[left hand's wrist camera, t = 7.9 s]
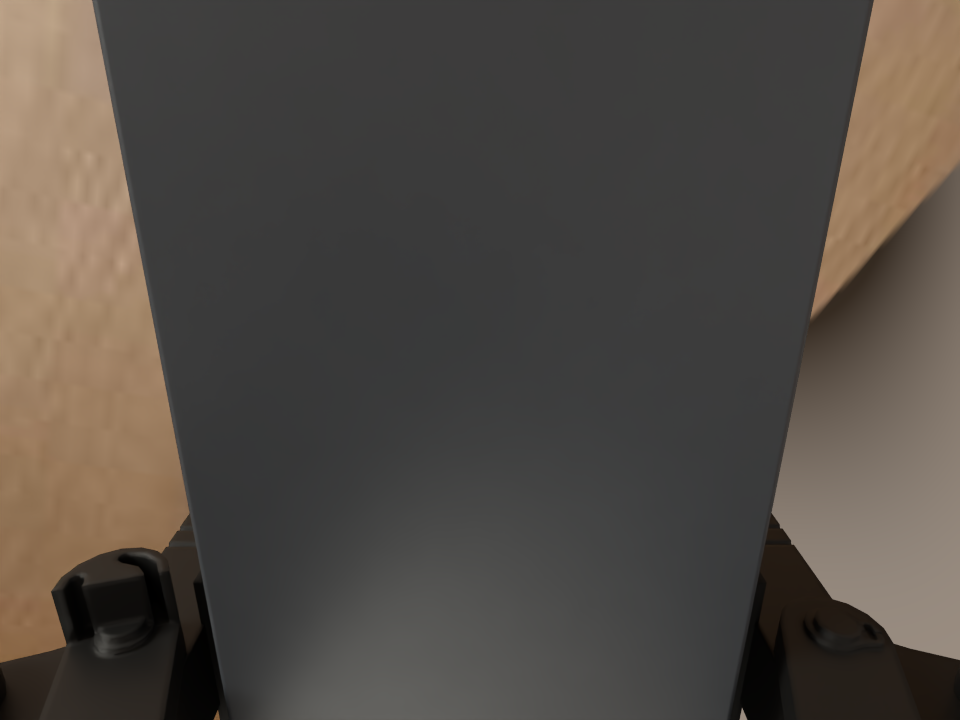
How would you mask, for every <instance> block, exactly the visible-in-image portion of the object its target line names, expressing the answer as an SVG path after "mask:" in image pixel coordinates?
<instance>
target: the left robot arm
mask: <svg viewBox="0 0 960 720" xmlns="http://www.w3.org/2000/svg"><path fill="white" fill-rule="evenodd" d="M51 593H52V596H53V600H54V603H55V606H56V610H57V613H58V616H59V620H60V623H61V626H62V630H63V633H64V636H65V640H66V643H67V645H66V647H63V648H59V649H56V650H53V651H49V652H45V653H41V654H36V655H32V656H28V657H24V658H19V659H15V660H11V661H6V662H2V663H0V720H214V717H215V715H216V713H217V710H218V711H219V716H220V720H229V716H228V711H227V706H226V700H225V695H224V690H223V685H222V679H221V674H220V669H219V664H218V658H217V653H216V648H215V643H214V637H213V632H212V627H211V622H210V616H209V611H208V606H207V601H206V595H205V590H204V585H203V580H202V574H201V569H200V564H199V559H198V553H197V548H196V543H195V538H194V532H193V527H192V522H191V516H190V514H189V515H188V517H187V518H186V520H185V521H184V522H183V524H182V525H181V527H180V531H177V532H176V534H175V535H174V537H173V538H172V539H171V541H170V542H169V547H166V548H165V549H164V551H163V552H162V554H161V553H159V552H158V551H155V550H150V549H146V548H126V549H119V550H115V551H111V552H108V553H104V554H100V555H98V556H96V557H94V558H92V559H89V560H87V561H85V562H83V563H81V564H79V565H77V566H76V567H75V568H73V569H72V570H71V571H70V572H68V573H67V574H66V575H64V576H63V577H62V578H61V579H60V580H59V582H58V583H57V584H56V586H55V587H54V588H53V590H52V591H51ZM742 708H743V710H744V713H745V715H746V717H747V720H960V660H956V659H952V658H948V657H943V656H939V655H935V654H931V653H926V652H922V651H918V650H913V649H909V648H906V647H903V646H899V645H896V644H893V642H892V641H891V639H890V637H889V636H888V634H887V633H886V631H885V629H884V628H883V627H882V626H881V625H879V624H878V623H877V622H876V621H875V620H873V619H872V618H871V617H870V616H869V615H868V614H866V613H864V612H862V611H860V610H858V609H856V608H854V607H853V606H851V605H849V604H847V603H843V602H840V601H836V600H833V599H832V598H831V597H830V595H829V594H828V592H827V591H826V590H825V588H824V587H823V585H822V584H821V583H820V581H819V580H818V578H817V577H816V575H815V574H814V573H813V571H812V570H811V568H810V567H809V566H808V564H807V563H806V561H805V560H804V559H803V557H802V556H801V554H800V553H799V551H798V550H797V549H796V547H795V546H794V545H791V540H790V539H789V537H788V536H787V534H786V533H785V532H784V530H783V529H780V525H779V523H778V522H777V520H776V519H775V517H774V516H773V515H772V513H771V517H770V522H769V527H768V532H767V537H766V542H765V547H764V552H763V557H762V562H761V567H760V572H759V577H758V582H757V587H756V592H755V597H754V602H753V607H752V612H751V617H750V622H749V627H748V632H747V637H746V642H745V647H744V652H743V657H742V662H741V667H740V672H739V677H738V682H737V687H736V692H735V697H734V702H733V707H732V712H731V717H730V720H739V719H740V714H741V709H742Z"/></svg>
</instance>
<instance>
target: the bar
mask: <svg viewBox="0 0 960 720" xmlns="http://www.w3.org/2000/svg"><path fill="white" fill-rule="evenodd" d="M92 1H93V7H94V12H95V17H96V22H97V28H98V33H99V38H100V43H101V49H102V54H103V59H104V64H105V70H106V75H107V80H108V85H109V91H110V96H111V101H112V106H113V112H114V117H115V122H116V127H117V133H118V138H119V143H120V148H121V154H122V159H123V164H124V169H125V175H126V180H127V185H128V191H129V196H130V201H131V206H132V212H133V217H134V222H135V227H136V233H137V238H138V243H139V248H140V254H141V259H142V264H143V269H144V275H145V280H146V285H147V290H148V296H149V301H150V306H151V311H152V317H153V322H154V327H155V332H156V338H157V343H158V348H159V353H160V359H161V364H162V369H163V375H164V380H165V385H166V390H167V396H168V401H169V406H170V411H171V417H172V422H173V427H174V432H175V438H176V443H177V448H178V453H179V459H180V464H181V469H182V474H183V480H184V485H185V490H186V495H187V501H188V506H189V511H190V516H191V522H192V527H193V532H194V538H195V543H196V548H197V553H198V559H199V564H200V569H201V574H202V580H203V585H204V590H205V595H206V601H207V606H208V611H209V616H210V622H211V627H212V632H213V637H214V643H215V648H216V653H217V658H218V664H219V669H220V674H221V679H222V685H223V690H224V695H225V700H226V706H227V711H228V716H229V720H730V717H731V712H732V707H733V702H734V697H735V692H736V687H737V682H738V677H739V672H740V667H741V662H742V657H743V652H744V647H745V642H746V637H747V632H748V627H749V622H750V617H751V612H752V607H753V602H754V597H755V592H756V587H757V582H758V577H759V572H760V567H761V562H762V557H763V552H764V547H765V542H766V537H767V532H768V527H769V522H770V517H771V512H772V507H773V502H774V497H775V492H776V487H777V482H778V477H779V472H780V467H781V462H782V457H783V452H784V447H785V442H786V437H787V432H788V427H789V422H790V417H791V412H792V407H793V402H794V397H795V392H796V387H797V382H798V377H799V372H800V367H801V362H802V356H803V352H804V346H805V342H806V337H807V332H808V326H809V322H810V317H811V312H812V307H813V302H814V297H815V292H816V287H817V282H818V277H819V272H820V267H821V262H822V257H823V251H824V246H825V241H826V236H827V231H828V226H829V221H830V216H831V211H832V206H833V201H834V196H835V191H836V186H837V181H838V176H839V171H840V166H841V161H842V156H843V151H844V146H845V141H846V136H847V131H848V126H849V121H850V116H851V111H852V106H853V101H854V96H855V91H856V86H857V81H858V76H859V71H860V66H861V61H862V56H863V51H864V46H865V41H866V36H867V31H868V26H869V21H870V16H871V11H872V6H873V1H874V0H92Z"/></svg>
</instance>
